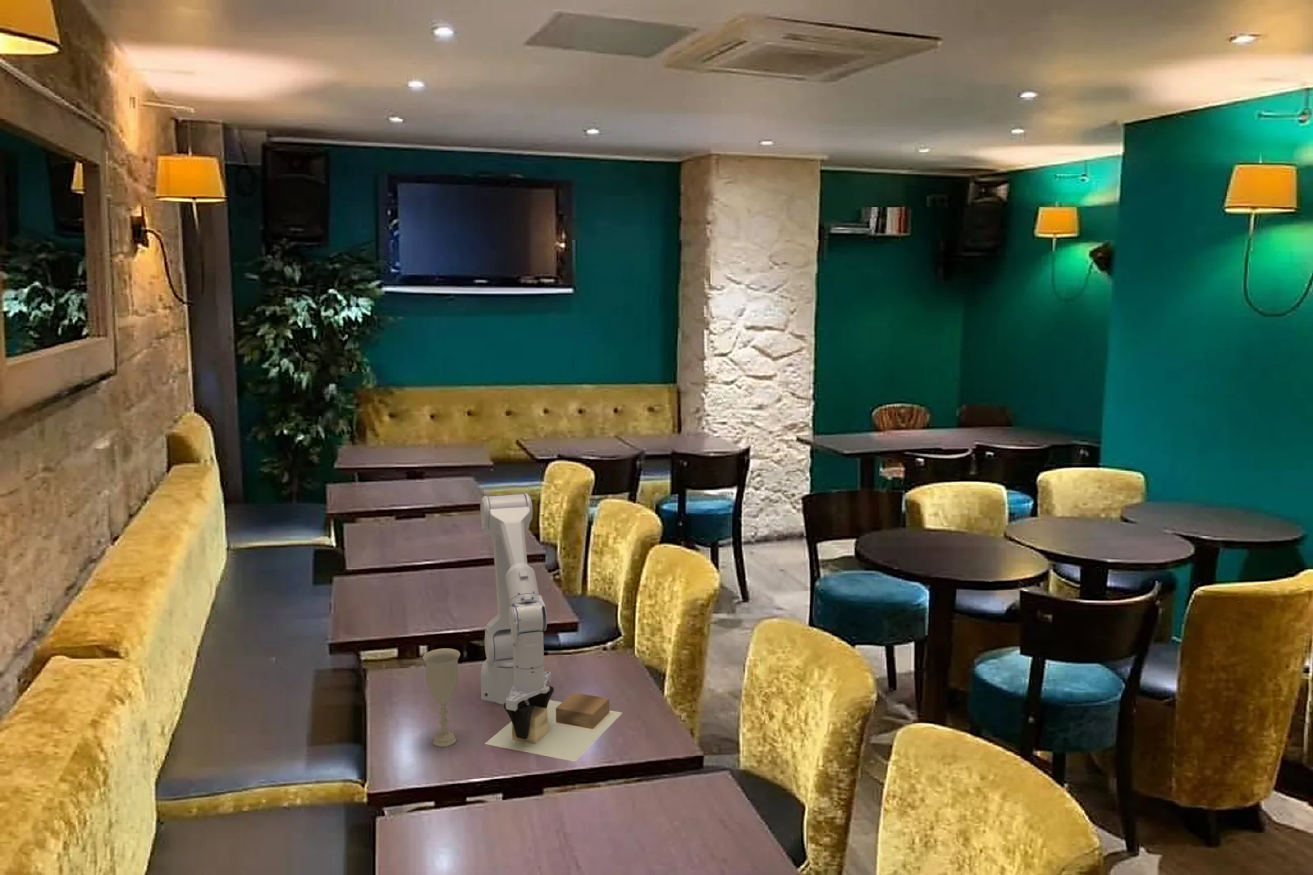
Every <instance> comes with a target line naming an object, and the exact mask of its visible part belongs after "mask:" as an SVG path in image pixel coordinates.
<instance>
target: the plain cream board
mask: <svg viewBox="0 0 1313 875" xmlns="http://www.w3.org/2000/svg"><path fill="white" fill-rule="evenodd" d="M562 702H563V701H557V700H552V699H550V700H549V702H548V705H547V718H548V733H547V734H546V735H545V736H544V737H543V738H541V739H540V740H539V741H538V742H537V743H536V744H533V743H528V742H523V741H518V740H513V739H512V721H510V722H509V723H507V724H506V725H505V726H504V727H502V728H501V730H499V731H498V732H497V733H496V734H494V735H493V736H492V737H491V738H489V739H488V741H486V742H485V743H484V745H488V746H493V747H494V746H495V747H499V748H504V749H509V750H515V751H519V752H525V753H528V754H529V753H530V754H533V755H534V754H535V755H540V756H545V757H550V758H554V759H560V760H564V761H571V762H573V763H574V762H576V761H578V759H580V758H581V757H582V755H583V754H584V753H585V752H586V751H587V750H588V749H589V748H590V747H591V746H592V745H593V744H594V743H595V742H596V741H597V739H599V738H600V737H601V736H602V735H603V734H604V733H605V732H606V730H608V728H610V726H611V725H613V723H614V722H615V721H616V720H617V719H618V718H619V717H620V716H621V715H622V714H623V712H621V711H615V710H610V709H609V713H608V714H607V715H606V716H605V717H604V718H603V719H602V720H601V721H600V722H599V723H598V724H597V725H596V726H595V727H594V728H593V729H589V728H584V727H579V726H573V725H568V724H562V723H557V722H556V707H558V706H559V705H560V704H561V703H562Z"/></svg>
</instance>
